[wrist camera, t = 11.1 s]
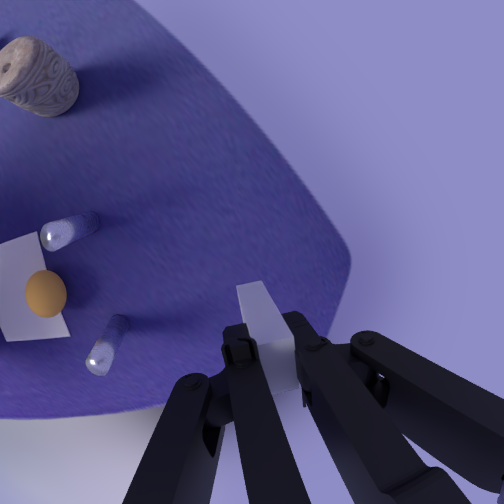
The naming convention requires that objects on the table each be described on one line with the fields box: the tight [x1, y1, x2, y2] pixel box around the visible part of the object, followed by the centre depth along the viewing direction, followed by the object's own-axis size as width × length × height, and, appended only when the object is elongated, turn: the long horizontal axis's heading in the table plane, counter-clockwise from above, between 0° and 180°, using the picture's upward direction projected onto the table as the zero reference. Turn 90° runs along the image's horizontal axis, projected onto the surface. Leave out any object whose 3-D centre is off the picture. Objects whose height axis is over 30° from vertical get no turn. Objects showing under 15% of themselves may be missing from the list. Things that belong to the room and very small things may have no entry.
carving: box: [0, 36, 79, 117], centre depth 17 cm, size 6×8×12 cm
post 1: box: [40, 212, 100, 251], centre depth 23 cm, size 2×2×9 cm
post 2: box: [86, 315, 129, 376], centre depth 26 cm, size 2×2×9 cm
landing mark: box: [0, 231, 71, 342], centre depth 27 cm, size 14×14×1 cm
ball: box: [25, 270, 67, 318], centre depth 25 cm, size 6×6×6 cm
